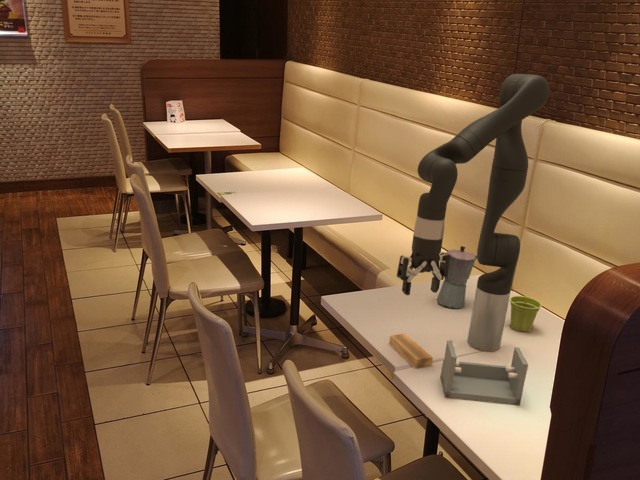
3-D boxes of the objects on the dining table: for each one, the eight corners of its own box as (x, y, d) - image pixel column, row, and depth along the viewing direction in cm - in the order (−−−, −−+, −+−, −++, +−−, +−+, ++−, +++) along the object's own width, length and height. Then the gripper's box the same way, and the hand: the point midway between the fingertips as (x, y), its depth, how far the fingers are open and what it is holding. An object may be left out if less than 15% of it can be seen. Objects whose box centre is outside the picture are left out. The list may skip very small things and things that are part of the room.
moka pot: (477, 308, 207) (488, 250, 201) (437, 312, 201) (446, 252, 195) (461, 296, 215) (470, 240, 209) (422, 300, 210) (430, 242, 203)
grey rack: (440, 377, 163) (446, 338, 159) (510, 384, 162) (518, 345, 159) (445, 397, 154) (451, 356, 150) (519, 404, 153) (528, 364, 150)
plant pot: (512, 318, 202) (517, 293, 199) (540, 328, 196) (546, 302, 194) (499, 326, 195) (504, 301, 192) (529, 337, 189) (534, 311, 186)
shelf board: (404, 342, 180) (405, 333, 179) (431, 367, 168) (433, 357, 167) (389, 345, 178) (390, 335, 177) (415, 369, 166) (416, 359, 165)
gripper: (443, 228, 168) (434, 285, 173) (396, 230, 162) (389, 289, 167) (460, 237, 162) (450, 296, 166) (412, 239, 156) (404, 300, 161)
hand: (420, 293), depth 167 cm, fingers open, 8 cm apart
